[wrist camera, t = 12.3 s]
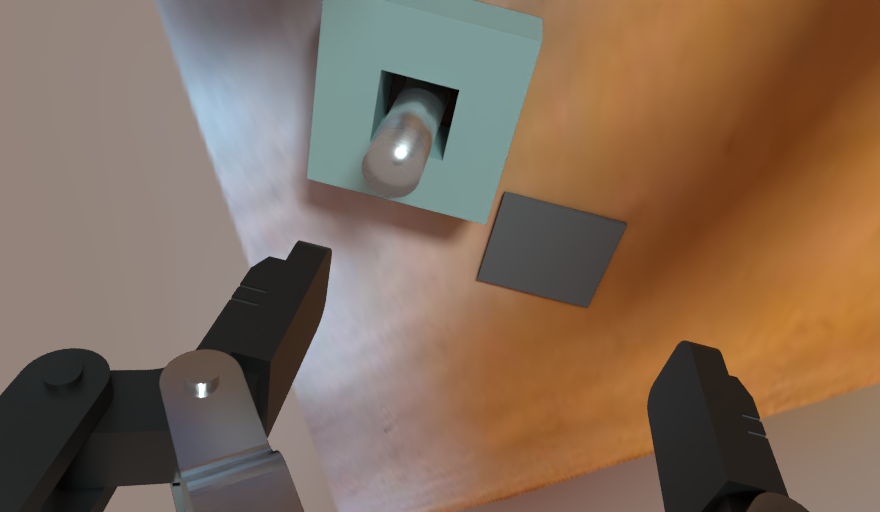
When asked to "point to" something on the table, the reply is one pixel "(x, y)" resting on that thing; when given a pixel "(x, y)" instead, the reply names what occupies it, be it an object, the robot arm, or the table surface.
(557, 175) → the table surface
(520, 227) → the mat
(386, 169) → the pin
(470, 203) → the socket block
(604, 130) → the table surface
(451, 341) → the table surface
